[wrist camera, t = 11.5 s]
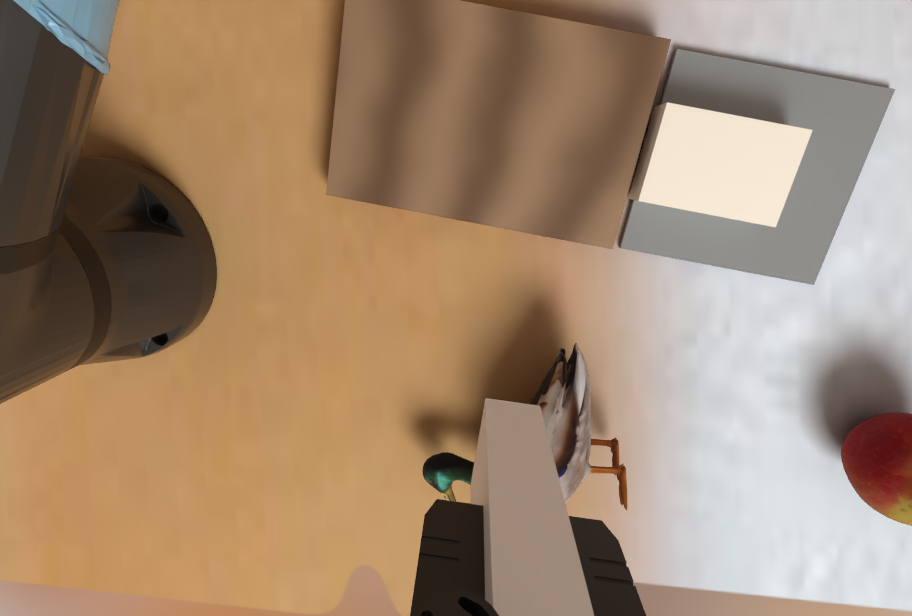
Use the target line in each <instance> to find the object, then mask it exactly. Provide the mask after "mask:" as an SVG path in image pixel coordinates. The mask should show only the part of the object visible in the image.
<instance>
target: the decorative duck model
mask: <svg viewBox="0 0 912 616" xmlns="http://www.w3.org/2000/svg"><path fill="white" fill-rule="evenodd" d="M528 404H531V405H538V406H540V407H541V411H542V415H543V419H544V423H545V427H546V430H547V434H548V438H549V442H550V446H551V450H552V454H553V458H554V461H555V465H556V469H557V473H558V477H559V481H560V485H561V489H562V492H563V496H564V500H565V504H566V503H567V501H568V500H569V499H570V497H571V496H572V495H573V494H574V492H575V491H576V490H577V488H578V487H579V486H580V484H581V483H582V482H583V480H584V479H585V477H586V476H587V475H588V474H590V473H612V474H615V475H616V474H617V478H618V480H619V497H620V503H621V504H622V505H623V504H624V508H625V509H626V510H627V483H626V469H625V466H623V464H622V465H620V466H619V444H618V440H617V439H616V438H614V439H612V440H611V441H610V440H598V439H591V395H590V386H589V377H588V371H587V366H586V363H585V359H584V357H583V355H582V353H581V351H580V349H579V347H578V345H577V344H576V343H575V345H574V348H573V352H572V354H571V357H570V359H569V361H568V362H567V361H566V358H565V349H563V348H561V349H560V352H559V354H558V357H557V359H556V361H555V363H554V365H553V366H552V368H551V369H550V371H549V372H548V374H547V376H546V377H545V379H544V380H543V382H542V384H541V386H540V387H539V389H538V391H537V393H536V395H535V397H534V398H533V399H532V400H531V401H530V402H529V403H528ZM591 445H603V446H608V447H611V452H612V453H613V458H612V466H613V467H597V466H590V465H589V463H588V460H589V455H590V447H591ZM473 467H474V462H471V461H469V460H466V459H464V458H461V457H459V456H457V455H454V454H452V453H440V454H436V455H433V456H431V457H430V458H428V459H427V460H426V462H425V463H424V466H423V476H424V479H425V480H426V481H427V482H428V483H429V484H430V485H431V486H433V487H434V488H435V489H437V490H438V491H439V492H440V493H441V494H442V495H443V496H444V497H445V499H446V500H447V501H454V502H456V499H455V496H454V494H453V491H452V486H451V485H452V482H453V481H455V480H461V481H464V482H466V483H468V484H470V485H471V479H472V473H473Z"/></svg>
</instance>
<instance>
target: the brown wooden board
mask: <svg viewBox="0 0 912 616" xmlns="http://www.w3.org/2000/svg"><path fill="white" fill-rule="evenodd" d="M670 41H671V39H666V38H661V37H655V36H650V35H644V34H639V33H634V32H628V31H623V30H617V29H612V28H607V27H601V26H596V25H591V24H585V23H580V22H574V21H569V20H564V19H558V18H553V17H548V16H542V15H537V14H531V13H526V12H521V11H515V10H510V9H505V8H499V7H494V6H488V5H483V4H478V3H472V2H467V1H461V0H345V6H344V16H343V26H342V36H341V47H340V57H339V67H338V78H337V88H336V98H335V108H334V119H333V129H332V139H331V150H330V160H329V170H328V181H327V191H326V195H330V196H335V197H341V198H346V199H351V200H356V201H362V202H367V203H372V204H377V205H383V206H388V207H393V208H399V209H404V210H409V211H414V212H420V213H425V214H430V215H435V216H441V217H446V218H451V219H456V220H462V221H467V222H472V223H477V224H483V225H488V226H493V227H498V228H504V229H509V230H514V231H519V232H525V233H530V234H535V235H540V236H546V237H551V238H556V239H561V240H567V241H572V242H577V243H583V244H588V245H593V246H598V247H604V248H609V249H613V245H614V241H615V238H616V234H617V231H618V227H619V224H620V220H621V216H622V213H623V209H624V206H625V202H626V199H627V195H628V191H629V188H630V184H631V181H632V177H633V174H634V170H635V166H636V163H637V159H638V156H639V152H640V149H641V145H642V141H643V138H644V134H645V131H646V127H647V124H648V120H649V116H650V113H651V109H652V106H653V102H654V99H655V95H656V91H657V88H658V84H659V81H660V77H661V74H662V70H663V66H664V63H665V59H666V56H667V52H668V49H669V45H670Z"/></svg>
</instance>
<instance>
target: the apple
mask: <svg viewBox="0 0 912 616" xmlns="http://www.w3.org/2000/svg"><path fill="white" fill-rule="evenodd" d="M841 458H842V463H843V467H844V470H845V472H846V474H847V477H848V479H849V481H850V482H851V484H852V486H853V488H854V489H855V491H856V492H857V494H858V495H859V496H860V497H861V498H862V499H863V500H864V501H865V502H866V503H867V504H868V505H869V506H870V507H872V508H873V509H874V510H876V511H878V512H879V513H881V514H883V515H884V516H886V517H888V518H890V519H893V520H895V521H898V522H900V523H904V524H907V525H911V526H912V414H908V413H887V414H880V415H877V416H873V417H871V418H869V419H866V420H864V421H863V422H861V423H859V424H858V425H856V426H855V427H854V428H853V429H852V430H851V431H850V433H849V434H848V435H847V437H846V438H845V440H844V443H843V445H842V449H841Z"/></svg>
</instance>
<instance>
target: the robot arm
mask: <svg viewBox="0 0 912 616" xmlns="http://www.w3.org/2000/svg"><path fill="white" fill-rule="evenodd" d="M118 3H119V0H0V404H1V403H3V402H5V401H7V400H9V399H11V398H13V397H15V396H17V395H19V394H21V393H23V392H25V391H27V390H30V389H32V388H34V387H36V386H38V385H40V384H42V383H44V382H46V381H48V380H50V379H52V378H54V377H56V376H58V375H60V374H62V373H63V372H66V371H68V370H70V369H72V368H74V367H76V366H78V365H84V364H92V363H101V362H109V361H118V360H126V359H134V358H140V357H145V356H148V355H151V354H154V353H157V352H160V351H162V350H164V349H166V348H168V347H169V346H171V345H173V344H175V343H176V342H178V341H180V340H182V339H183V338H185V337H186V336H188V335H189V334H190V333H191V332H193V331H194V330H195V329H196V328H197V327H198V326H199V324H200V323H201V322H202V321H203V319H204V318H205V316H206V314H207V313H208V311H209V309H210V306H211V304H212V301H213V298H214V294H215V289H216V280H217V268H216V259H215V254H214V249H213V246H212V242H211V239H210V237H209V234H208V232H207V230H206V227H205V225H204V223H203V222H202V220H201V218H200V216H199V215H198V213H197V212H196V210H195V209H194V208H193V206H192V205H191V204H190V202H189V201H188V200H187V199H186V198H185V197H184V196H183V194H182V193H181V192H180V191H179V190H177V189H176V188H175V187H174V186H173V185H172V184H171V183H169V182H168V181H167V180H165V179H164V178H163V177H161V176H160V175H158V174H157V173H155V172H153V171H151V170H149V169H147V168H145V167H143V166H141V165H138V164H136V163H133V162H130V161H127V160H122V159H118V158H111V157H80V153H81V150H82V146H83V143H84V139H85V136H86V133H87V129H88V126H89V123H90V119H91V116H92V113H93V109H94V106H95V103H96V99H97V96H98V92H99V89H100V86H101V82H102V79H103V76H104V74H106V75H108V74H109V71H110V63H109V62H108V60H107V58H108V52H109V47H110V42H111V36H112V31H113V25H114V21H115V16H116V12H117V7H118ZM410 616H646V614H645V612H644V609H643V606H642V603H641V601H640V598H639V595H638V593H637V590H636V587H635V586H633V579H632V576H631V574H630V571H629V568H628V567H626V560H625V558H624V555H623V552H622V549H621V547H620V544H619V541H618V540H617V539H616V537H615V536H614V535H613V534H612V533H611V531H610V530H609V529H608V528H607V527H606V525H605V524H604V523H603V522H602V521H600V520H593V519H586V518H579V517H572V516H568V512H567V508H566V504H565V500H564V496H563V492H562V489H561V485H560V481H559V477H558V473H557V469H556V465H555V461H554V458H553V454H552V450H551V446H550V442H549V438H548V434H547V430H546V427H545V423H544V419H543V415H542V411H541V407H540V406H538V405H531V404H524V403H517V402H510V401H503V400H496V399H489V398H485V403H484V409H483V415H482V421H481V427H480V432H479V438H478V444H477V450H476V456H475V462H474V467H473V473H472V479H471V504H468V503H461V502H454V501H447V500H440V499H437V500H436V501H435V502H434V504H433V505H432V506H431V508H430V509H429V510H428V512H427V513H426V514H425V518H424V525H423V531H422V538H421V545H420V552H419V559H418V566H417V573H416V580H415V586H414V593H413V600H412V607H411V614H410Z"/></svg>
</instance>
